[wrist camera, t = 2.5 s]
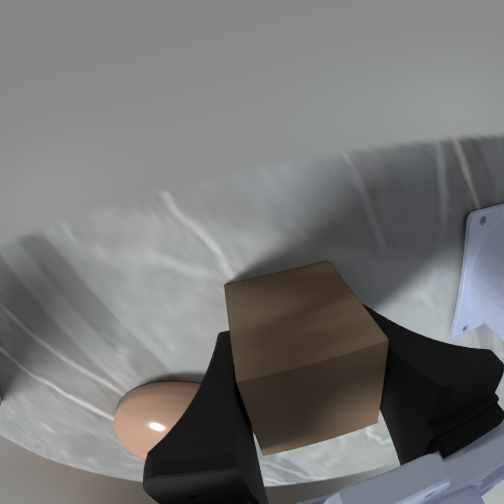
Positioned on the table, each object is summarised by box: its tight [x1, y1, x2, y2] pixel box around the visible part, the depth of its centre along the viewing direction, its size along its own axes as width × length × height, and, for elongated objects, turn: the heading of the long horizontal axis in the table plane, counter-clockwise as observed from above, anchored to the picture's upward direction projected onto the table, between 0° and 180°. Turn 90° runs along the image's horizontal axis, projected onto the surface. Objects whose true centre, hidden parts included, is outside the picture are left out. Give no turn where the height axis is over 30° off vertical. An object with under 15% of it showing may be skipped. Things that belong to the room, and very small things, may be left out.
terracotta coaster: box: [113, 381, 201, 460], centre depth 16 cm, size 8×8×1 cm
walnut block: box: [224, 261, 388, 456], centre depth 12 cm, size 4×4×6 cm
